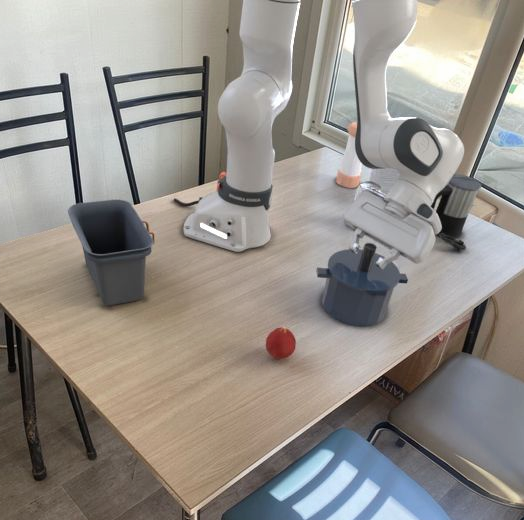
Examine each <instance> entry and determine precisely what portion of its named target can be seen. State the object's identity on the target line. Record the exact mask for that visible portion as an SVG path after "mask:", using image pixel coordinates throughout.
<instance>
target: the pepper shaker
mask: <svg viewBox="0 0 524 520" xmlns="http://www.w3.org/2000/svg"><path fill="white" fill-rule="evenodd" d="M356 130H357V121H354V122H351V123H349V125H348V127H347V133H348V137H347V142H346V147H345V150H344V152H343V154H342V158H341V161H340V167H339V168H338V170H337V174H336V179H335V182H336V183H337V184H338V185H339V186H341V187H344V188H347V189H348V188H349V189H353V188H358V187H359V185H360V182H361V176H362V168H363V166H364V165H363V164H362V163H361V162H360V160H359V159H358V157H357V154H356V151H355V137H356Z"/></svg>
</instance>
